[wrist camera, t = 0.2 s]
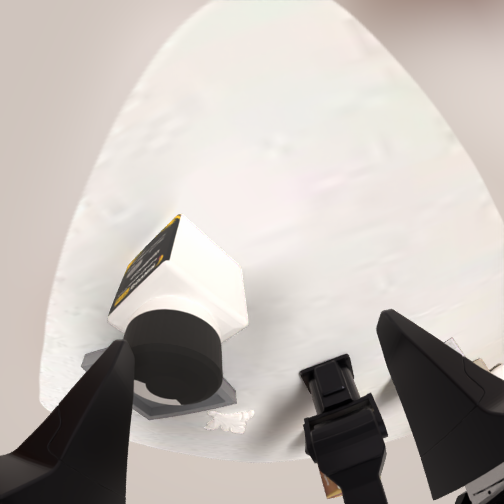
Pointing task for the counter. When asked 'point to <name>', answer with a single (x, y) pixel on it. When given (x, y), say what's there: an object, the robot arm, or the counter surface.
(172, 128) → the counter surface
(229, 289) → the medicine bottle
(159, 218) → the counter surface
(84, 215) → the counter surface
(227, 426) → the acanthus leaf ornament
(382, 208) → the counter surface
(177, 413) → the gray tray
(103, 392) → the robot arm
